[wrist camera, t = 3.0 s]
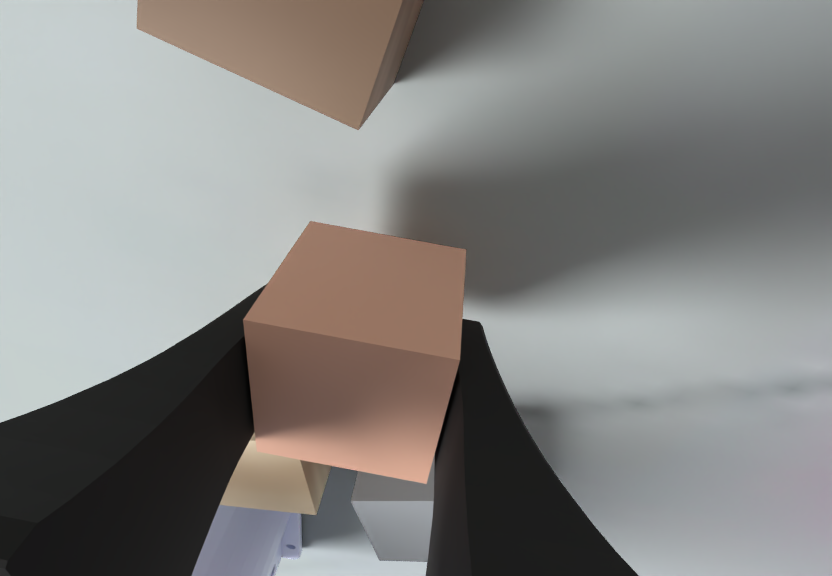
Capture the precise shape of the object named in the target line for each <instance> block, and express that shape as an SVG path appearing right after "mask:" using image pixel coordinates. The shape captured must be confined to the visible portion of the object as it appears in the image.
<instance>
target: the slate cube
mask: <svg viewBox="0 0 832 576" xmlns="http://www.w3.org/2000/svg"><path fill="white" fill-rule="evenodd" d="M434 465H435V454H434V458H433V462H432V465H431V469H430V473H429V476H428V480H427V484H424V483H419V482H414V481H408V480H403V479H398V478H393V477H387V476H382V475H377V474H372V473H366V472H361V471H358V473H357V477H356V481H355V485H354V489H353V493H352V497H351V503H352V505H353V507H354V509H355V511H356V513H357V516H358V518H359V520H360V522H361V524H362V526H363V528H364V530H365V532H366V534H367V536H368V538H369V540H370V542H371V544H372V546H373V548H374V550H375V552H376V554H377V556H378V559H379V560H380V561H417V562H428V553H429V544H430V535H431V526H432V518H433V502H434Z"/></svg>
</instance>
